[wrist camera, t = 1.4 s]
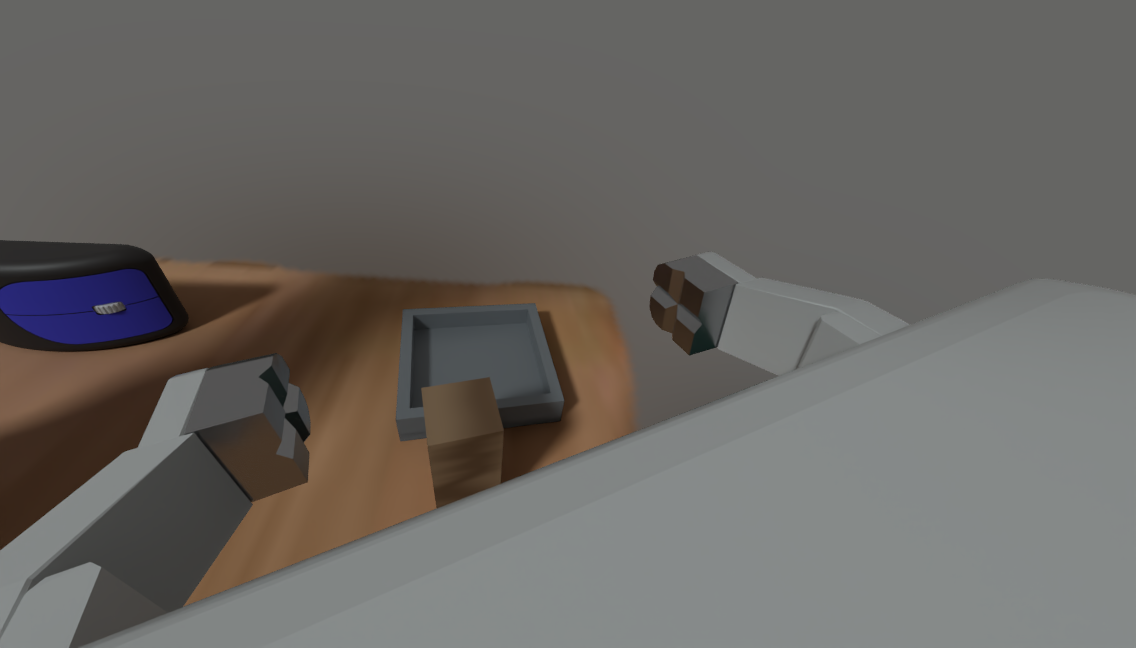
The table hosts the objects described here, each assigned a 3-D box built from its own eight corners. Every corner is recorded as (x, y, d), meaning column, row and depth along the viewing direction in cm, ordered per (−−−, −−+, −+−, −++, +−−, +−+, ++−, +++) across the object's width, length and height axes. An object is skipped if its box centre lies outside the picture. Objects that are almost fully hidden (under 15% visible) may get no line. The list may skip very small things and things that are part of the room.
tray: (400, 441, 35) (395, 419, 33) (406, 330, 45) (403, 309, 43) (560, 420, 39) (564, 400, 37) (532, 323, 49) (535, 303, 47)
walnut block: (438, 522, 31) (427, 446, 24) (432, 468, 34) (421, 387, 27) (499, 506, 32) (503, 430, 26) (487, 456, 35) (489, 377, 29)
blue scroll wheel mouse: (-51, 357, 35) (-161, 263, 29) (-4, 322, 39) (-95, 231, 33) (173, 354, 39) (116, 270, 33) (198, 322, 42) (150, 240, 36)
